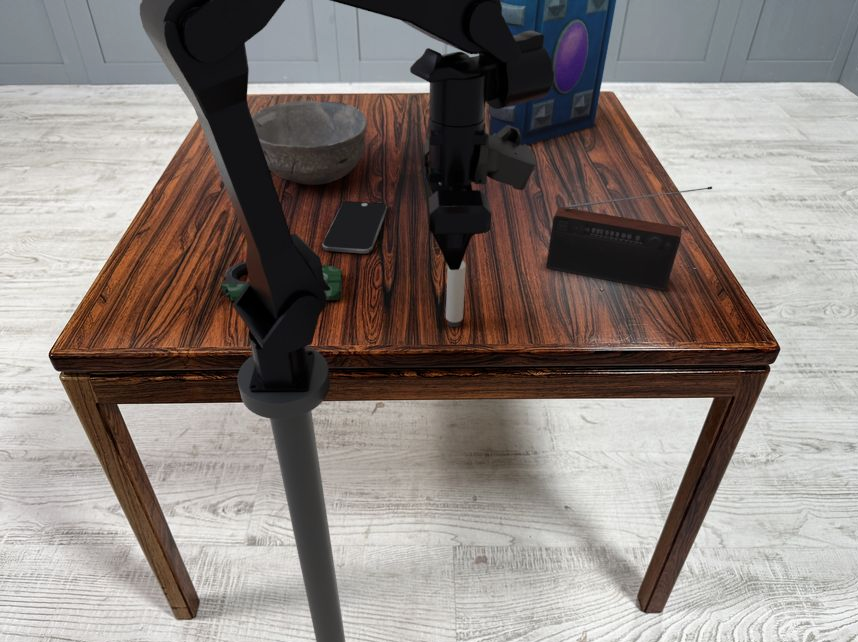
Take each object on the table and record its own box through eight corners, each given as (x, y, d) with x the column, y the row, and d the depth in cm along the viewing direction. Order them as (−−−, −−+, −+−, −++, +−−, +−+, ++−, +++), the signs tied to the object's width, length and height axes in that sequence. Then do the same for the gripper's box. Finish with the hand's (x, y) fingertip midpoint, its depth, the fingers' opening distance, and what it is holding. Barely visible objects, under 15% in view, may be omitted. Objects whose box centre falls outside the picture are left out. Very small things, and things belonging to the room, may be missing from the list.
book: (507, 154, 124) (525, -26, 105) (479, 139, 130) (491, -36, 110) (598, 128, 134) (630, -41, 115) (569, 115, 140) (594, -49, 120)
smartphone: (388, 203, 107) (371, 250, 96) (388, 207, 108) (371, 254, 96) (342, 200, 108) (319, 246, 97) (343, 204, 109) (320, 250, 97)
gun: (345, 254, 94) (339, 294, 86) (346, 263, 95) (340, 303, 87) (232, 255, 94) (216, 295, 86) (234, 264, 95) (219, 304, 87)
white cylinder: (463, 328, 83) (466, 269, 77) (445, 329, 83) (448, 269, 77) (462, 318, 85) (465, 259, 79) (445, 318, 85) (447, 259, 79)
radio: (545, 269, 94) (560, 171, 84) (549, 259, 96) (564, 162, 86) (680, 296, 89) (712, 194, 79) (681, 284, 91) (713, 184, 81)
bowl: (281, 214, 106) (273, 155, 100) (236, 168, 119) (226, 113, 113) (391, 183, 115) (389, 127, 108) (337, 143, 128) (333, 91, 121)
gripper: (551, 153, 60) (531, 292, 70) (521, 86, 75) (509, 209, 85) (430, 154, 60) (428, 293, 70) (424, 86, 74) (423, 210, 84)
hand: (451, 247), depth 77 cm, fingers open, 9 cm apart
